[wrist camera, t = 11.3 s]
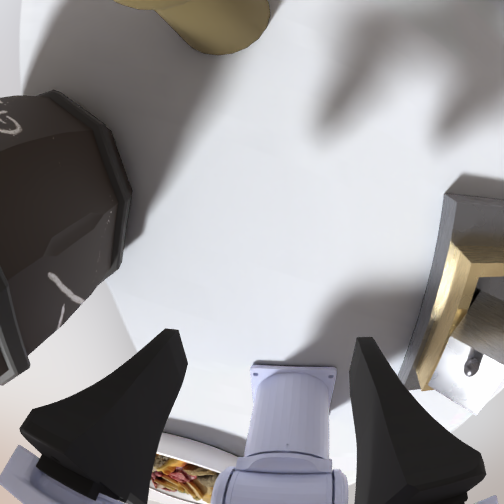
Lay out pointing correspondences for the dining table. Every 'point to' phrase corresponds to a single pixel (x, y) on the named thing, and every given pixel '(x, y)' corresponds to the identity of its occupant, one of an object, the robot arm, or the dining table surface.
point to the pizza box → (188, 468)
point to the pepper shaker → (211, 21)
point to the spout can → (473, 355)
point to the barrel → (54, 218)
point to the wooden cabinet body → (456, 279)
